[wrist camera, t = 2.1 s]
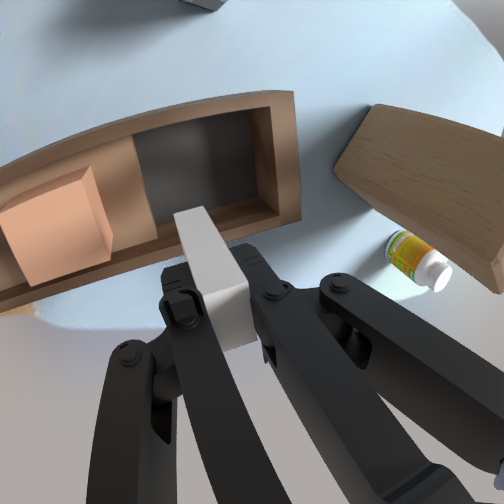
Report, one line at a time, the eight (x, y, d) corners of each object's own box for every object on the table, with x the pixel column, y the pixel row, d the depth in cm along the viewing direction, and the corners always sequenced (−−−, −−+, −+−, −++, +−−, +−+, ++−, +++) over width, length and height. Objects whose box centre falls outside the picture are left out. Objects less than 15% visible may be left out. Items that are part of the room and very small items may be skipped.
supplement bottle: (378, 251, 39) (426, 289, 32) (401, 222, 38) (451, 255, 31) (392, 266, 42) (435, 302, 35) (412, 239, 41) (458, 271, 34)
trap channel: (-112, 246, 12) (-131, 268, 8) (266, 90, 23) (293, 90, 19) (-74, 317, 18) (-87, 343, 14) (276, 200, 29) (301, 220, 25)
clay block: (15, 195, 17) (-4, 215, 14) (90, 165, 19) (81, 179, 16) (42, 259, 20) (30, 286, 17) (113, 234, 22) (110, 260, 19)
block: (374, 210, 35) (501, 301, 19) (326, 170, 30) (491, 270, 14) (412, 149, 33) (546, 213, 17) (372, 99, 27) (544, 150, 11)
